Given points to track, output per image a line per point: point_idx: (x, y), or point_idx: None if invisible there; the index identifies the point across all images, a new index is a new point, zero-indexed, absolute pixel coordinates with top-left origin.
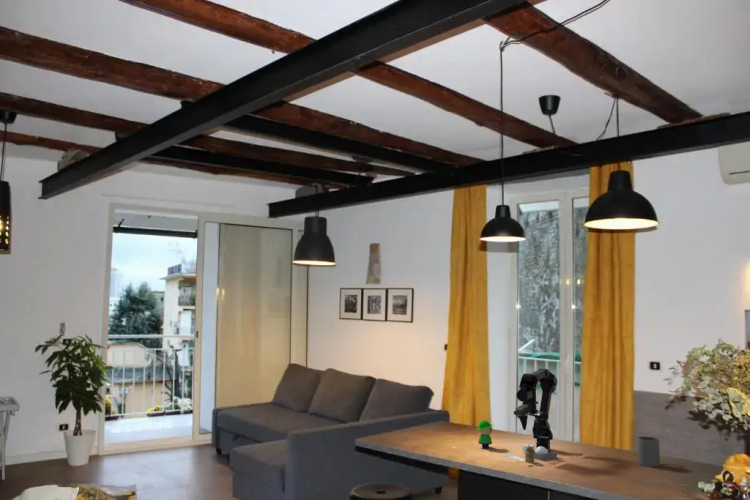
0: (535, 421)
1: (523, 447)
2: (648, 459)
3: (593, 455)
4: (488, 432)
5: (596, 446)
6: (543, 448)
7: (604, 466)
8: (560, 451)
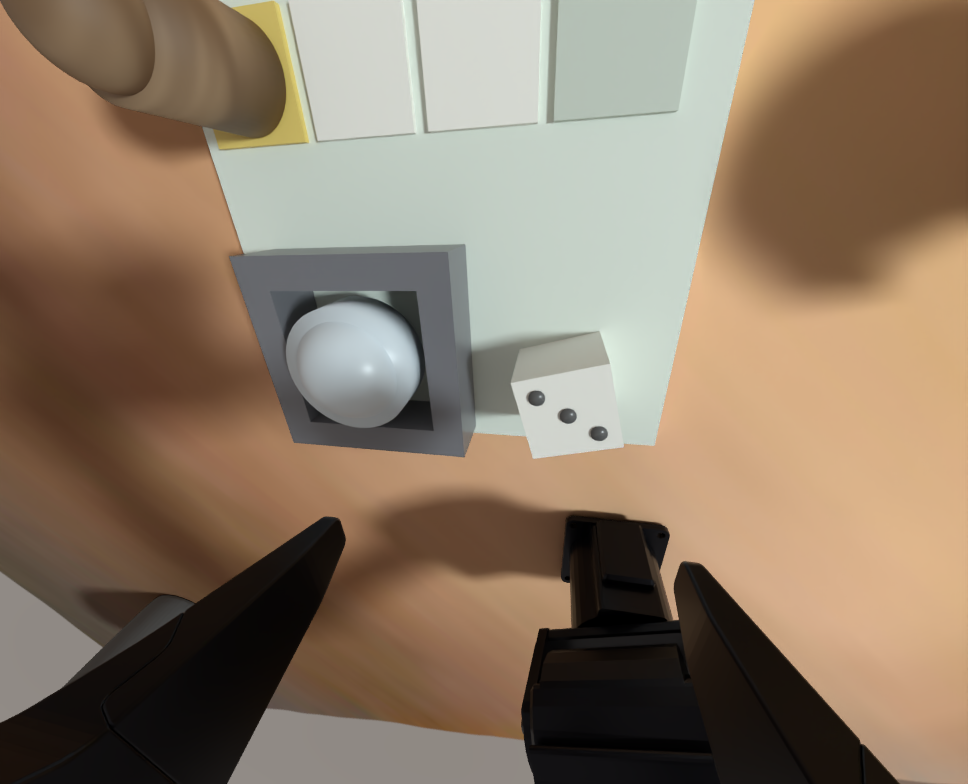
0: (17, 780)
1: (600, 355)
2: (129, 623)
3: (384, 621)
4: None
5: (522, 734)
6: (300, 374)
7: (172, 497)
8: (537, 600)
